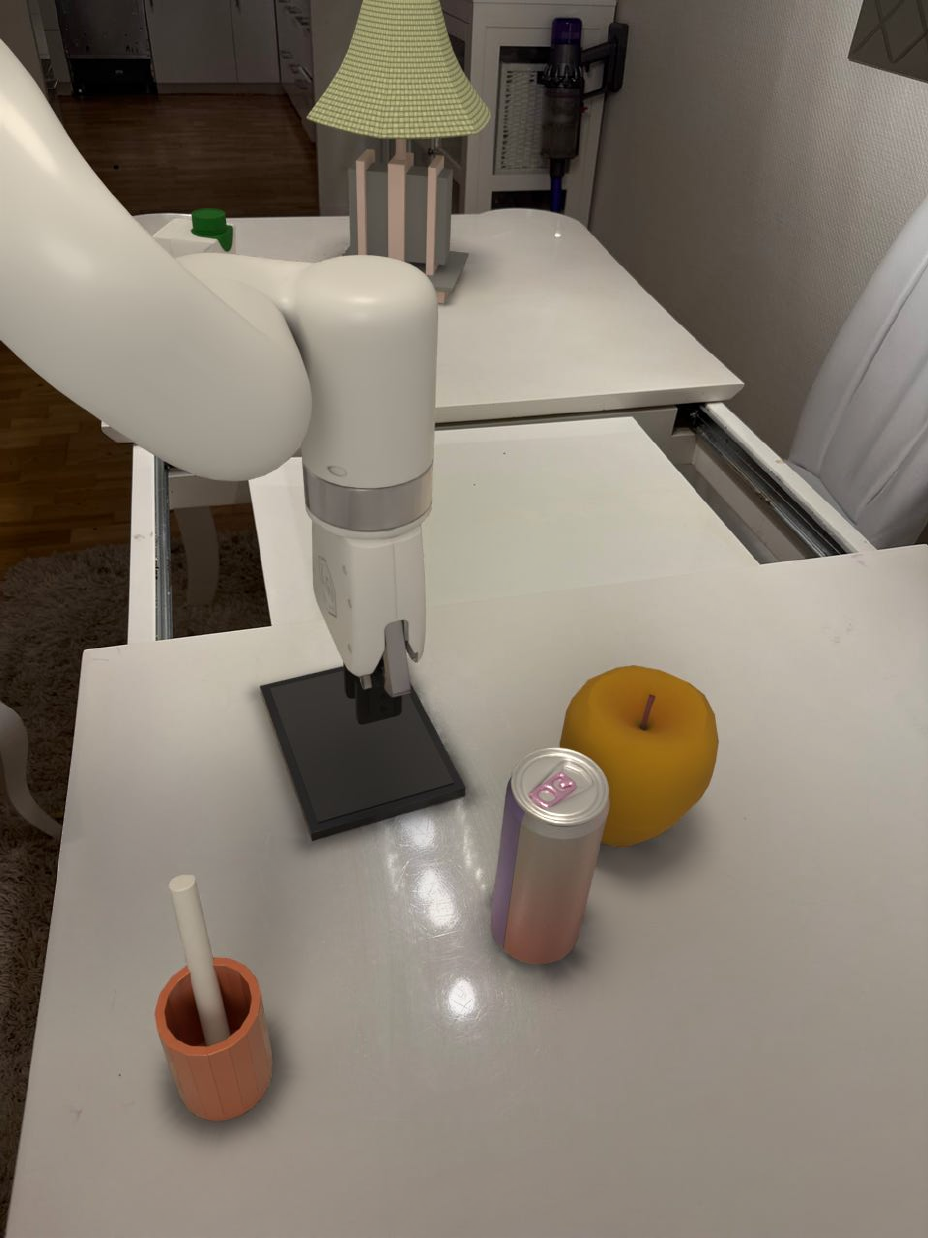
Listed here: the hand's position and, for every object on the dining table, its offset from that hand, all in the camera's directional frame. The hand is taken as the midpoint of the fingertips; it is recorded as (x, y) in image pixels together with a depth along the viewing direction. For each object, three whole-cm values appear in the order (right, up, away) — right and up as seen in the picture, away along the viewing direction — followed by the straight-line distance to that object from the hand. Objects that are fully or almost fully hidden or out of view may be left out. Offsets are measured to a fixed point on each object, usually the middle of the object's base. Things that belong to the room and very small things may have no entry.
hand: (372, 703), depth 66 cm
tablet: (-2, -4, +8) cm, 9 cm away
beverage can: (+11, -15, -4) cm, 19 cm away
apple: (+18, -9, +4) cm, 21 cm away
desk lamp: (-4, +61, +86) cm, 105 cm away
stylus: (-7, -20, -12) cm, 25 cm away
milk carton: (-27, +40, +58) cm, 76 cm away
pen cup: (-7, -21, -12) cm, 25 cm away
